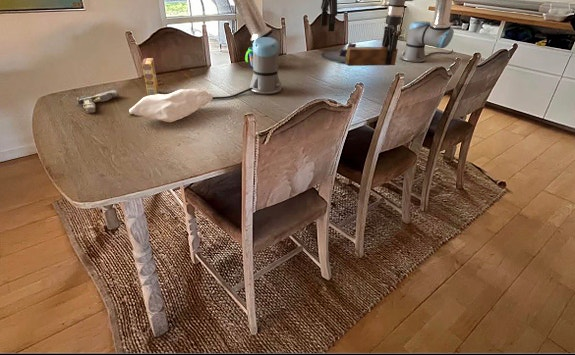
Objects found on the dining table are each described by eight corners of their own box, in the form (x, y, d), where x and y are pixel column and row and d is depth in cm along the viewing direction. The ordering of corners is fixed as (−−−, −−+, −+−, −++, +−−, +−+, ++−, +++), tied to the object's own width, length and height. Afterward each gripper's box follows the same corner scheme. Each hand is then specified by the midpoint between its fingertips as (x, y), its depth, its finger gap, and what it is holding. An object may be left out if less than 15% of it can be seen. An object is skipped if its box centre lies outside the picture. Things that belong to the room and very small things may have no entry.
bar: (348, 65, 188) (350, 49, 183) (345, 63, 192) (347, 47, 187) (394, 65, 192) (397, 49, 187) (391, 62, 196) (393, 46, 191)
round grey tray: (386, 59, 233) (388, 44, 229) (346, 66, 216) (347, 50, 211) (349, 51, 258) (350, 37, 253) (310, 56, 240) (311, 42, 236)
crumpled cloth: (117, 110, 146) (113, 90, 140) (195, 92, 166) (194, 73, 160) (143, 139, 134) (140, 118, 128) (223, 116, 154) (224, 96, 148)
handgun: (128, 97, 156) (111, 87, 164) (86, 107, 144) (70, 97, 152) (129, 103, 157) (113, 94, 165) (88, 114, 146) (72, 103, 154)
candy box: (157, 97, 164) (152, 63, 155) (147, 98, 163) (141, 63, 155) (158, 91, 171) (153, 57, 163) (149, 91, 170) (143, 58, 162)
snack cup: (264, 62, 219) (264, 45, 213) (273, 67, 211) (274, 49, 206) (241, 65, 211) (240, 47, 206) (250, 70, 204) (249, 51, 198)
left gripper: (348, -20, 153) (342, 33, 164) (332, -24, 174) (328, 23, 185) (330, -20, 152) (326, 33, 163) (317, -25, 172) (313, 23, 184)
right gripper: (409, 18, 173) (399, 67, 186) (394, 12, 188) (386, 58, 201) (394, 18, 172) (385, 67, 185) (380, 12, 187) (373, 58, 200)
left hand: (327, 28), depth 174 cm, fingers open, 13 cm apart
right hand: (386, 62), depth 193 cm, fingers closed on bar, 5 cm apart
